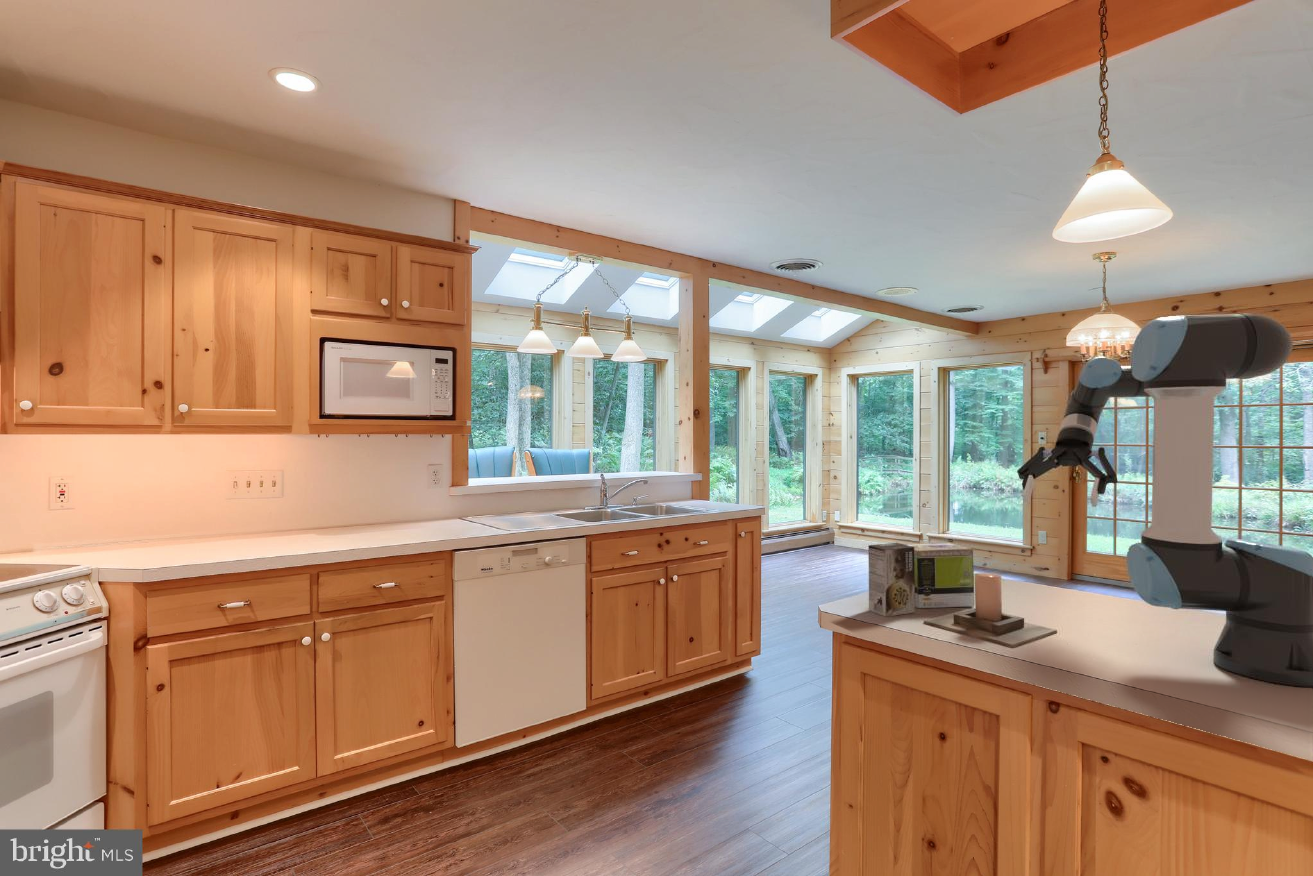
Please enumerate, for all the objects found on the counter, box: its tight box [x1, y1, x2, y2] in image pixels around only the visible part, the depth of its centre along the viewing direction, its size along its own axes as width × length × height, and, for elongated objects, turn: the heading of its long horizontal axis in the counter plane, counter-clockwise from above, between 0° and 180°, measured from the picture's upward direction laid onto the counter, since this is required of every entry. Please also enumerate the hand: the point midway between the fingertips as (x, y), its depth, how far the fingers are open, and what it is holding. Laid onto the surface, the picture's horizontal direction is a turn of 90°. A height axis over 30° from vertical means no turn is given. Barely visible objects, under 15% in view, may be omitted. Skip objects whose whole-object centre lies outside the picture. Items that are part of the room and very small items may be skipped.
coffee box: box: [868, 542, 916, 617], centre depth 153 cm, size 9×6×16 cm
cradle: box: [922, 608, 1058, 648], centre depth 140 cm, size 20×18×3 cm
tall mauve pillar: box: [974, 572, 1003, 623], centre depth 140 cm, size 5×5×11 cm
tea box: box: [905, 542, 975, 609], centre depth 161 cm, size 15×10×15 cm, turn 95°
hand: (1058, 500), depth 146 cm, fingers open, 13 cm apart
